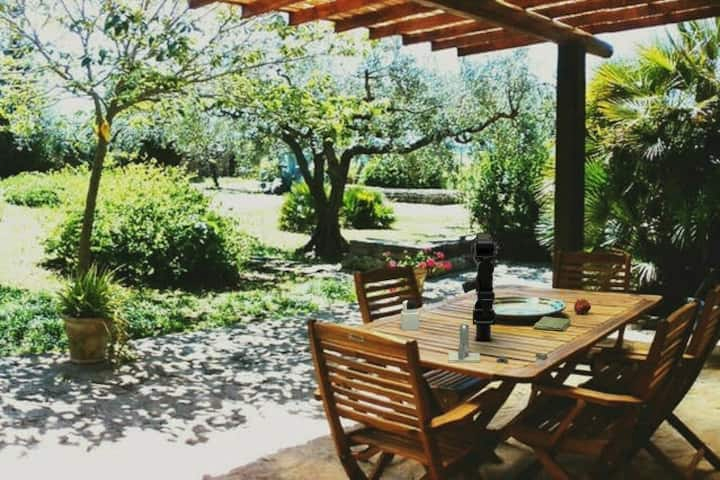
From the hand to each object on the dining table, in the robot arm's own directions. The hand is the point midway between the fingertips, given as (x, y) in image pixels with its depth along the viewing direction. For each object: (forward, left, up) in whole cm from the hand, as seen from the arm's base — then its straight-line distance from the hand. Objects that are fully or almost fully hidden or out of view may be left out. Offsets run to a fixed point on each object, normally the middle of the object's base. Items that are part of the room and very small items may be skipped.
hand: (485, 314), depth 268 cm
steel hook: (+16, -8, -12) cm, 21 cm away
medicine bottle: (-36, -30, -13) cm, 49 cm away
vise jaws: (+15, +12, -13) cm, 23 cm away
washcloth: (-41, +30, -14) cm, 53 cm away
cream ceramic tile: (+14, -8, -13) cm, 21 cm away
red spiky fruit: (-69, +47, -13) cm, 85 cm away
